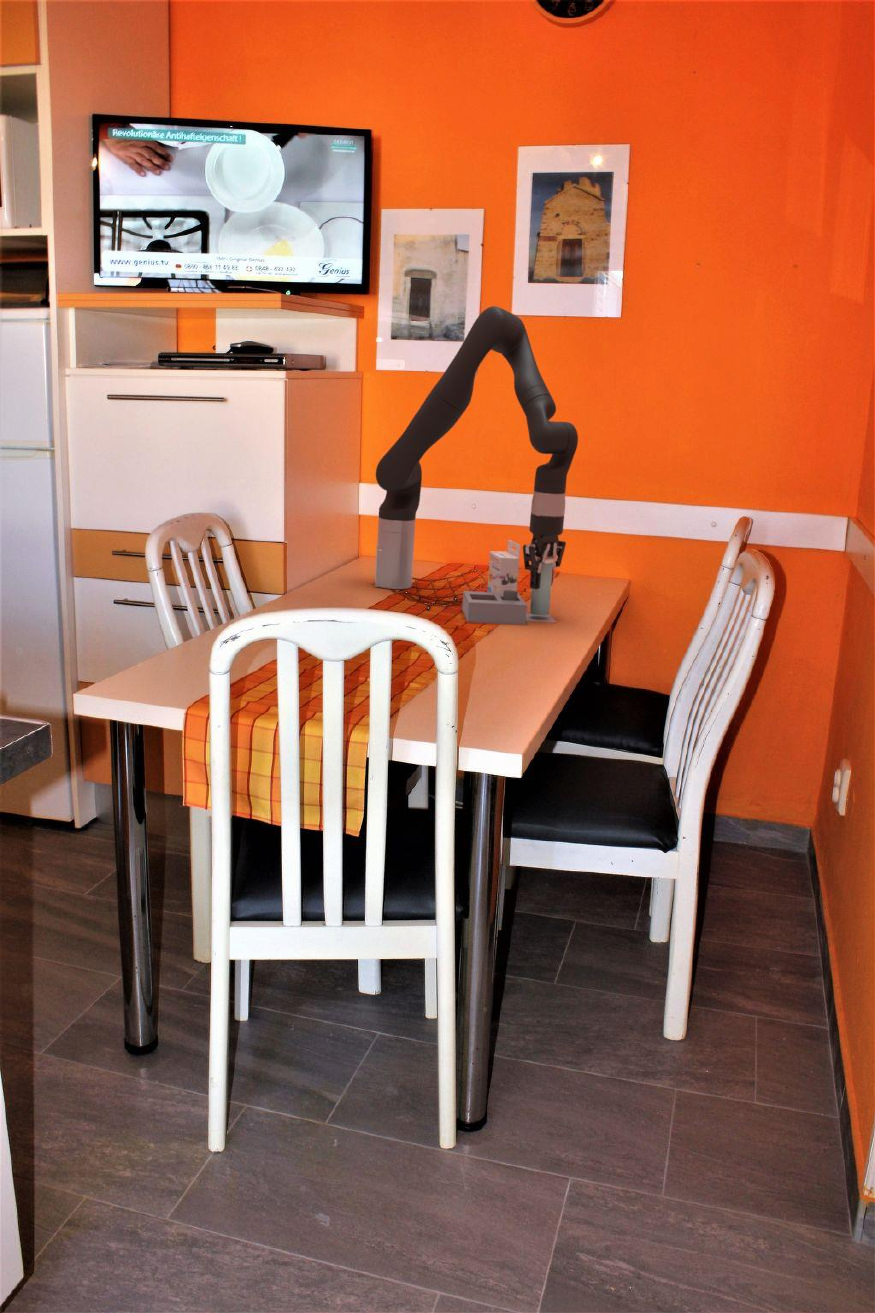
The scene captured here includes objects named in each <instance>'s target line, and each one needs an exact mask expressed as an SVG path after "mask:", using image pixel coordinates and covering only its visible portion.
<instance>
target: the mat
mask: <svg viewBox="0 0 875 1313" xmlns="http://www.w3.org/2000/svg"><path fill="white" fill-rule="evenodd" d="M529 622H531V623H549V624H550V623H553V624H555V623H556V620H555V619H554V618H553V616H552V615H550V614H549V615H533V614H531V613H526V623H529Z"/></svg>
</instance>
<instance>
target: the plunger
mask: <svg viewBox="0 0 875 1313" xmlns="http://www.w3.org/2000/svg"><path fill="white" fill-rule="evenodd" d="M517 594H519V593H518V590H517V591H512V590H505V591H504V592H503V600H510V601H517Z"/></svg>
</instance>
